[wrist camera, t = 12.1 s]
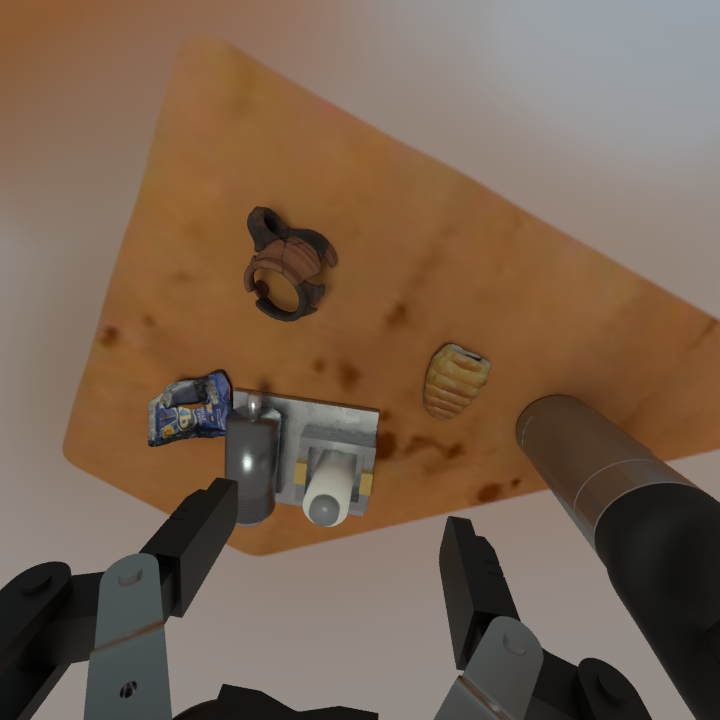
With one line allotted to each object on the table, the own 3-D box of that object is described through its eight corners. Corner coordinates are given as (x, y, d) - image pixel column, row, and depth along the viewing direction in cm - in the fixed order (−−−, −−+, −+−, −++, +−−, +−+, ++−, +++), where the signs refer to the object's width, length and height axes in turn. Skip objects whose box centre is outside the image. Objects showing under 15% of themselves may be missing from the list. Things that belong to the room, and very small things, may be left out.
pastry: (457, 422, 44) (463, 437, 40) (409, 403, 44) (410, 416, 40) (491, 357, 41) (501, 367, 38) (440, 337, 41) (444, 344, 38)
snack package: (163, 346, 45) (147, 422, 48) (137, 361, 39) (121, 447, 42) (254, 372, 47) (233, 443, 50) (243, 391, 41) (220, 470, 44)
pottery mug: (358, 277, 40) (329, 315, 35) (303, 300, 46) (270, 337, 40) (298, 178, 35) (253, 204, 29) (244, 218, 41) (197, 246, 35)
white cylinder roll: (359, 449, 45) (350, 498, 35) (353, 481, 46) (343, 537, 36) (322, 441, 45) (303, 488, 35) (317, 474, 46) (297, 528, 37)
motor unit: (383, 399, 44) (382, 425, 37) (365, 512, 49) (361, 554, 42) (237, 377, 44) (208, 399, 37) (234, 490, 49) (208, 528, 42)
